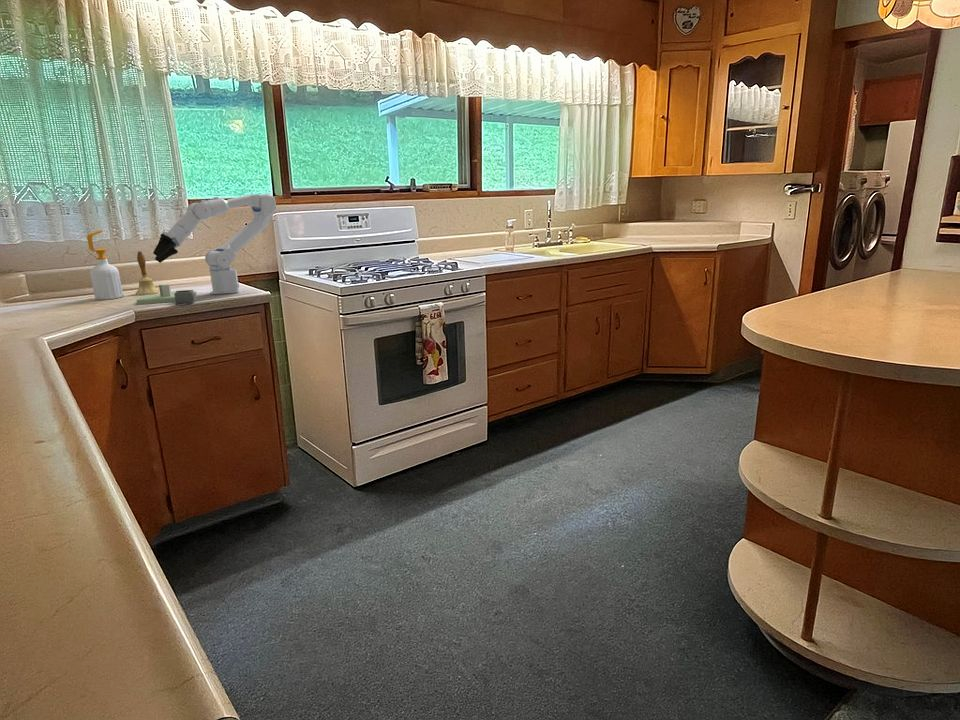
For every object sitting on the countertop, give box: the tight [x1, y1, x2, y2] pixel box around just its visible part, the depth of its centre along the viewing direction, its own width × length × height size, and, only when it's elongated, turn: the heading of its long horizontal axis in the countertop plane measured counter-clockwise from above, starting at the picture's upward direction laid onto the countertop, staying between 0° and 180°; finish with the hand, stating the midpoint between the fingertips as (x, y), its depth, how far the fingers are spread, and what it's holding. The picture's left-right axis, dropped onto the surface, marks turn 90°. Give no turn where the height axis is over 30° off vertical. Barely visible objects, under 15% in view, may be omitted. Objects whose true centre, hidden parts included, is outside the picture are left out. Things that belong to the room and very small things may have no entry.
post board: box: [136, 283, 198, 305], centre depth 219 cm, size 18×10×6 cm, turn 108°
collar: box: [173, 289, 196, 306], centre depth 213 cm, size 5×5×4 cm
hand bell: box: [135, 251, 160, 296], centre depth 233 cm, size 8×8×16 cm
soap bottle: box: [86, 229, 124, 301], centre depth 224 cm, size 9×9×25 cm
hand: (156, 258), depth 213 cm, fingers open, 7 cm apart
